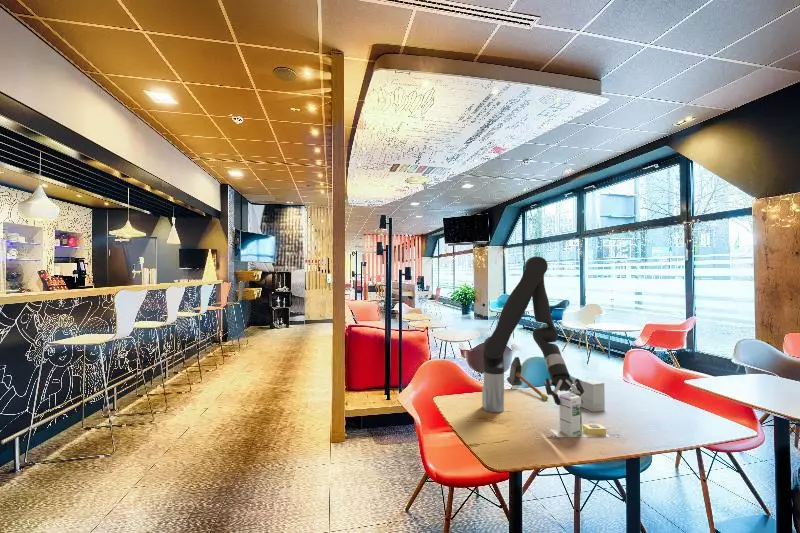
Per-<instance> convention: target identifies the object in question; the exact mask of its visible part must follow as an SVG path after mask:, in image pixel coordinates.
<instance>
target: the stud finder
mask: <svg viewBox="0 0 800 533" xmlns="http://www.w3.org/2000/svg"><path fill="white" fill-rule="evenodd" d="M582 429H583V431H584V432H585V433H586V434H588V435H606V434H607V428H606V427H604V426H603V425H602V424H601V423H599V424H597V423H594V424H593V423H592V424H590V423H588V424H585V423H584V424H582Z"/></svg>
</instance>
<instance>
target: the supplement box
mask: <svg viewBox="0 0 800 533" xmlns="http://www.w3.org/2000/svg"><path fill="white" fill-rule="evenodd" d="M580 383H581V385H582V387H583V390H584V393H583V394H582V395H581V398H582V400H583V403H582V405H581V408H584V409H586V410H588V411H590V412H593V413H595V412H601V411H602V412H603V411H605V409H606V408H605V407H606V406H605V404H606V402H605V401H606V399H605V395H606V394H605V382H602V381H600V380H595V379H593V378H589V379H582V380H580Z"/></svg>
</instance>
